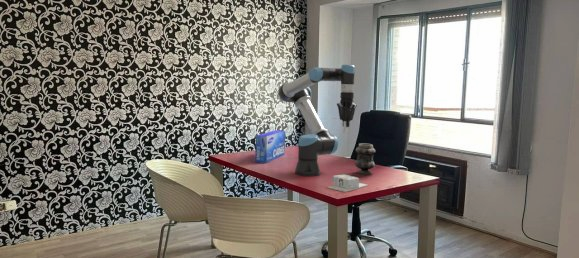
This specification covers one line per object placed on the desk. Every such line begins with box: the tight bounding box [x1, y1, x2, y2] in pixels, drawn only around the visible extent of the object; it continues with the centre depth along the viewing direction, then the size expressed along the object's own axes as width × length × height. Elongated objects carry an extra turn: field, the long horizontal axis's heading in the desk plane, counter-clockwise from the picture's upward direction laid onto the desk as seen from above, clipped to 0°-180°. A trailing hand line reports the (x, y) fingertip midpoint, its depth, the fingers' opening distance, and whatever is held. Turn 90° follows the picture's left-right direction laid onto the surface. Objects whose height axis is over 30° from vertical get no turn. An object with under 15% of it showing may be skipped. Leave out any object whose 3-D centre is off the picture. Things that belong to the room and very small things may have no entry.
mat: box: [327, 182, 368, 193], centre depth 234 cm, size 11×20×1 cm, turn 136°
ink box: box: [332, 173, 360, 189], centre depth 234 cm, size 8×5×12 cm
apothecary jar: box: [354, 142, 376, 176], centre depth 269 cm, size 12×12×18 cm
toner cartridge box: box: [254, 130, 286, 164], centre depth 313 cm, size 39×8×18 cm, turn 161°
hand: (345, 132), depth 256 cm, fingers closed
